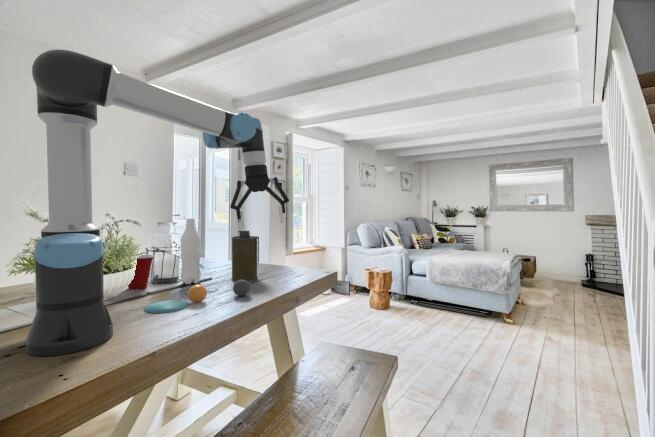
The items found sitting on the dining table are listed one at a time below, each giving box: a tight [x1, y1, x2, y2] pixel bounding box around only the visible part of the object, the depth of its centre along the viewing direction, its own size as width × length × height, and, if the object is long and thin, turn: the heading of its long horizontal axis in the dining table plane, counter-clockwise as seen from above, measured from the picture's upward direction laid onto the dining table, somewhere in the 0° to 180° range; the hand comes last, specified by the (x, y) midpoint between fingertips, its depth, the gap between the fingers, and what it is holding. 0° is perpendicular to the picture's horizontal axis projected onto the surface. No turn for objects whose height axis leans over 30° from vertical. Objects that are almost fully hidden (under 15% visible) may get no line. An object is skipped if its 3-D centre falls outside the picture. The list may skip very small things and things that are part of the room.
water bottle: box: [180, 218, 202, 285], centre depth 124 cm, size 7×7×25 cm
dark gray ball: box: [232, 280, 251, 297], centre depth 108 cm, size 6×6×6 cm
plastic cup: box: [127, 254, 155, 291], centre depth 117 cm, size 11×11×12 cm
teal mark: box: [143, 299, 190, 314], centre depth 95 cm, size 12×12×1 cm
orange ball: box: [187, 284, 208, 304], centre depth 100 cm, size 6×6×6 cm
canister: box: [231, 230, 260, 283], centre depth 132 cm, size 11×10×20 cm
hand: (263, 225), depth 113 cm, fingers open, 13 cm apart
